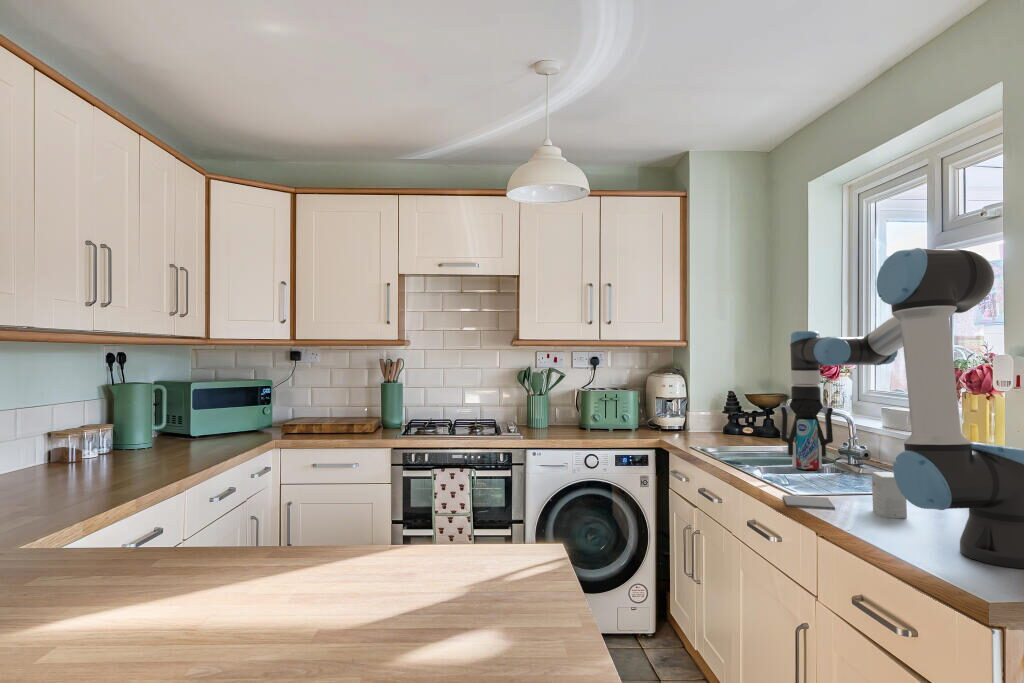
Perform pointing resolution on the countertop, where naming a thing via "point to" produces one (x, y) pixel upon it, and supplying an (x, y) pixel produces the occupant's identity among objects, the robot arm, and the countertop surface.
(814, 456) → the beverage can
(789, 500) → the coaster
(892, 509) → the small box
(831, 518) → the countertop surface
